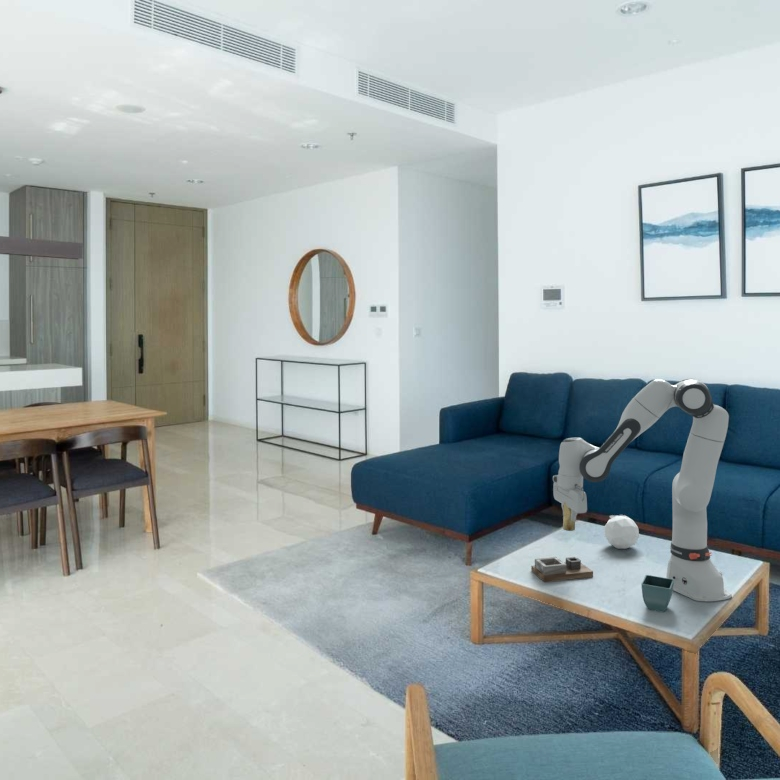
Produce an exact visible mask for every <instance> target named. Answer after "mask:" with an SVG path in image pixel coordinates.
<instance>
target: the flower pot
mask: <svg viewBox="0 0 780 780" xmlns="http://www.w3.org/2000/svg"><path fill="white" fill-rule="evenodd" d="M673 585H674V579H669V578H666V577H661V576H655V575H649V574H645V576H644V578H643V580H642V582H641V593H642V600H643V603H644V605H645V607H646V609H648V610H651V611H652V610H653V611H656V612H663V613H664V612H666V610H667V608H668V607H669V605H670V602H671V598H672V596H673V591H674V590H673Z"/></svg>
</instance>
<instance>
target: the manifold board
mask: <svg viewBox="0 0 780 780" xmlns="http://www.w3.org/2000/svg"><path fill="white" fill-rule="evenodd" d="M581 561H582V560H581V559H580V558H578V557H575V556H572V557H565V561H563V560H560V558H558V557H557V556H553V557H550V556H549V557H541V558H534V565H531V567H530V568H531V569H530V571H531V573H533V574H534V575H535V576H537V577H538V578H539V579H540V580H542V582H544V583H547V582H557V581H565V580H576V579H584V578H585V579H586V578H592V577H594V571H593V570H592V569H591V568H589V567H587V566H586V565H585V564H584V563H582V562H581Z"/></svg>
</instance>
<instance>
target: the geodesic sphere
mask: <svg viewBox="0 0 780 780" xmlns="http://www.w3.org/2000/svg"><path fill="white" fill-rule="evenodd" d="M603 528H604V529H603V530H604V537H605V538H606V540H607V542H608V544H610V545H611V546H613V547H615V548H616V549H618V550H619V549H620V550H622V549H628V548H631V547H633V546H635V545H636V543H637V541H638V540H639V538H640V533H639V532H640V531H639V527H638V525H637V524H636V522H635V521H634V520H633V519H632V518H630V517H629V516H627V515H623V514H622V513H621V514H620V515H615V514H614V515H613V514H612V515H609V519H608V521H607V523H605V525H604V527H603Z"/></svg>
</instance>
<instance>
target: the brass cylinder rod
mask: <svg viewBox="0 0 780 780" xmlns="http://www.w3.org/2000/svg"><path fill="white" fill-rule="evenodd" d="M571 513H572V512H571V509H570V508H568V507H567V505H566V503H565V502H564V515H562V516H563V517H562V519H563V521H562V522H563V523H562V530H564V531H566V532H574V531H575V530H576V521H571V520H570V515H571Z"/></svg>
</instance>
